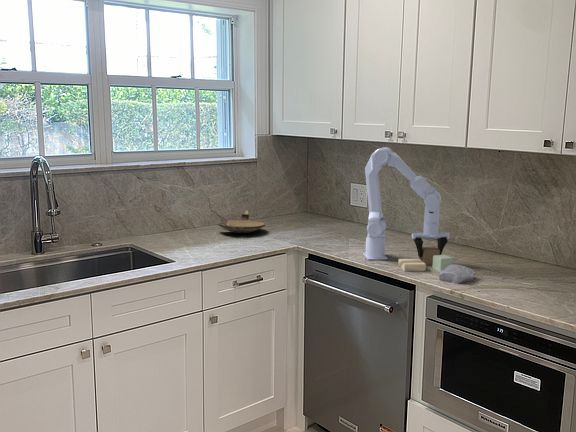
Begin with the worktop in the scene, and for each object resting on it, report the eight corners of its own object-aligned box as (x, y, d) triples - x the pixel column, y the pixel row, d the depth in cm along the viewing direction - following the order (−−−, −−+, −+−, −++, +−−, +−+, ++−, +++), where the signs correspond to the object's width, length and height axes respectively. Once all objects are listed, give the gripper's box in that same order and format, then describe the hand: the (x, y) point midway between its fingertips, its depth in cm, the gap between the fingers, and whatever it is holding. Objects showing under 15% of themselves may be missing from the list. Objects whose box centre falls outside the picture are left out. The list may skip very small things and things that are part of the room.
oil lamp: (208, 235, 264) (207, 219, 263) (239, 224, 291) (239, 209, 290) (250, 240, 255) (250, 223, 254) (278, 228, 282) (278, 213, 281)
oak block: (398, 266, 217) (398, 258, 216) (418, 266, 218) (419, 258, 217) (404, 272, 209) (404, 264, 209) (425, 272, 210) (425, 264, 209)
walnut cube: (418, 261, 224) (419, 246, 223) (433, 261, 224) (434, 246, 223) (423, 265, 218) (424, 250, 217) (438, 265, 218) (439, 250, 217)
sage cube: (432, 268, 214) (433, 255, 213) (443, 267, 216) (444, 254, 215) (440, 271, 209) (441, 258, 208) (451, 270, 211) (452, 257, 210)
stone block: (475, 282, 203) (449, 272, 208) (479, 270, 201) (453, 260, 207) (462, 291, 194) (435, 280, 199) (465, 279, 192) (439, 268, 198)
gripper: (416, 224, 213) (414, 259, 216) (453, 224, 215) (451, 258, 217) (410, 220, 220) (408, 254, 223) (446, 220, 222) (444, 254, 224)
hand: (429, 256), depth 220 cm, fingers open, 7 cm apart
